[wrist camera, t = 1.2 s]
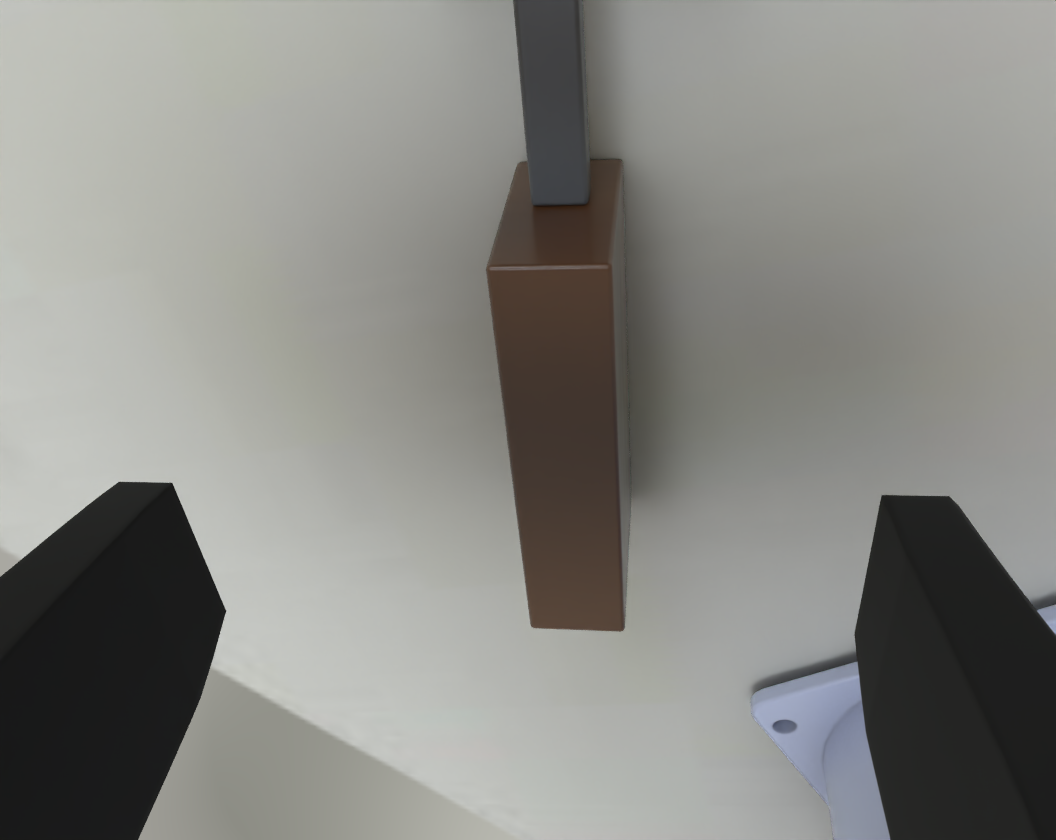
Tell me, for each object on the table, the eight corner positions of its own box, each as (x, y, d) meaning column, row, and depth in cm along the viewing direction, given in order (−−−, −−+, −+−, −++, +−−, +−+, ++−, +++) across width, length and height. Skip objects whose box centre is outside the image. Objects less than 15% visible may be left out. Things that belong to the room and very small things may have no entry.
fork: (688, 503, 19) (691, 635, 16) (493, 499, 19) (466, 627, 17) (716, -512, 10) (729, -563, 7) (354, -464, 10) (255, -498, 8)
